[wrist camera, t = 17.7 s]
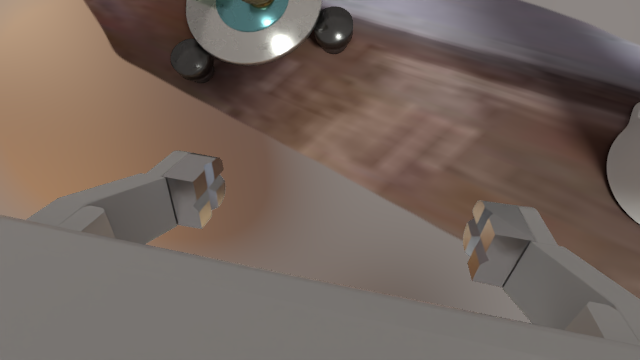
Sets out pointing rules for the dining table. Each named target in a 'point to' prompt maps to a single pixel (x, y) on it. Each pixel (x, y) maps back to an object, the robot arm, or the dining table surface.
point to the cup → (260, 3)
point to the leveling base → (255, 33)
